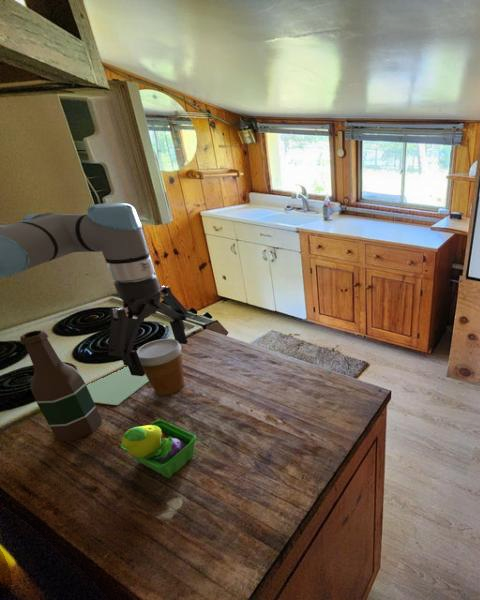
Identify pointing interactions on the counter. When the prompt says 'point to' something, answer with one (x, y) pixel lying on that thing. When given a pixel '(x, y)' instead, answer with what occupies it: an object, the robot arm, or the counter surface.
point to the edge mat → (116, 387)
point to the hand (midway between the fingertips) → (161, 357)
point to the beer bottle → (60, 391)
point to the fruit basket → (160, 446)
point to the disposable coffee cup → (163, 365)
